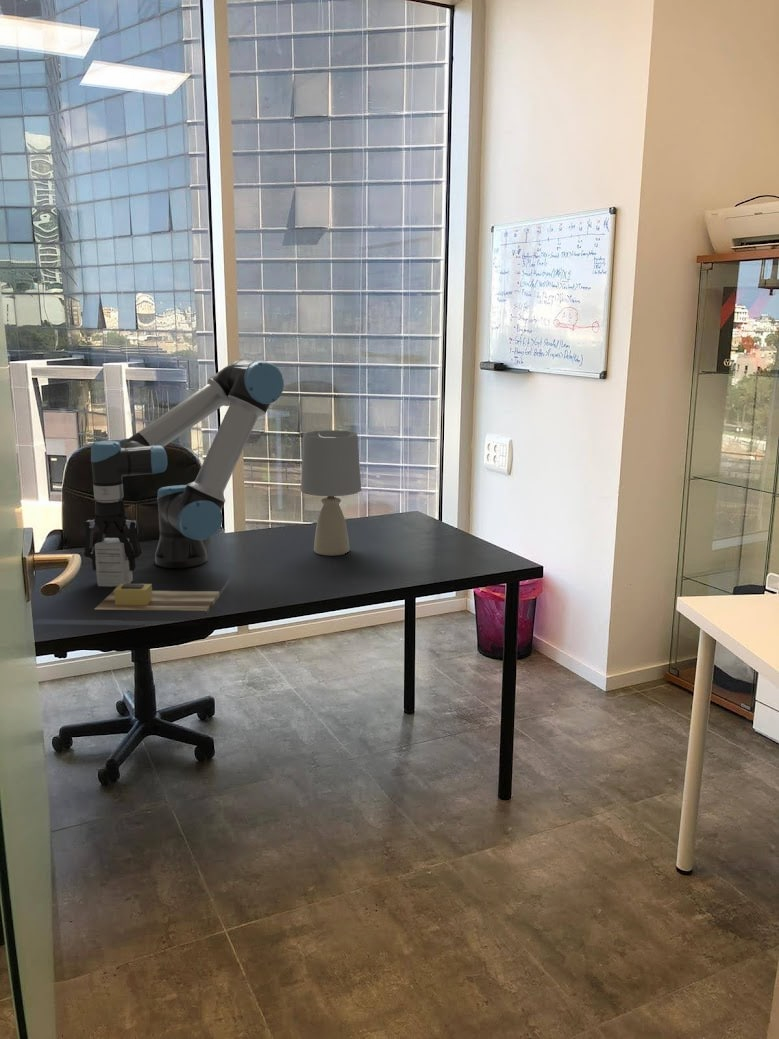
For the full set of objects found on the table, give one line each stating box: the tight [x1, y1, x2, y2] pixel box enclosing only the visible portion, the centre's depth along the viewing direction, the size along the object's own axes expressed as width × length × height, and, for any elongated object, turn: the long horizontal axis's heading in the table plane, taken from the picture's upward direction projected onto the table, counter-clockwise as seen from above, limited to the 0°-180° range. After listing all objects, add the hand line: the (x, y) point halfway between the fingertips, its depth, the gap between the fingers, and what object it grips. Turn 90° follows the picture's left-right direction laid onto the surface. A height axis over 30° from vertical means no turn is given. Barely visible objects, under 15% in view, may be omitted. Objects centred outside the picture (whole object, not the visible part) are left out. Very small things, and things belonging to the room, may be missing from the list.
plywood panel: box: [94, 590, 221, 615], centre depth 221 cm, size 15×28×1 cm, turn 89°
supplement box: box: [94, 537, 130, 587], centre depth 234 cm, size 7×7×13 cm
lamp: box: [300, 429, 362, 557], centre depth 266 cm, size 19×19×37 cm
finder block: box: [113, 583, 153, 605], centre depth 219 cm, size 5×8×4 cm, turn 89°
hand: (115, 581), depth 235 cm, fingers closed on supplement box, 7 cm apart
